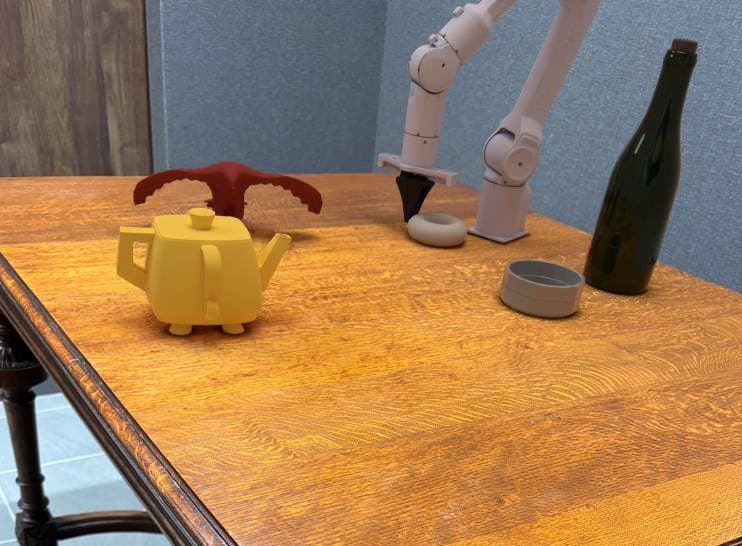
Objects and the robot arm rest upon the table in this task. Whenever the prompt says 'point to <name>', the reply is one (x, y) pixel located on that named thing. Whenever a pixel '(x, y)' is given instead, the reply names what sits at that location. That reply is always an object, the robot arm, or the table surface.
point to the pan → (541, 288)
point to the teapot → (200, 269)
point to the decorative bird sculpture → (229, 186)
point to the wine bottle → (643, 185)
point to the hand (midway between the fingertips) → (410, 221)
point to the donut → (437, 229)
